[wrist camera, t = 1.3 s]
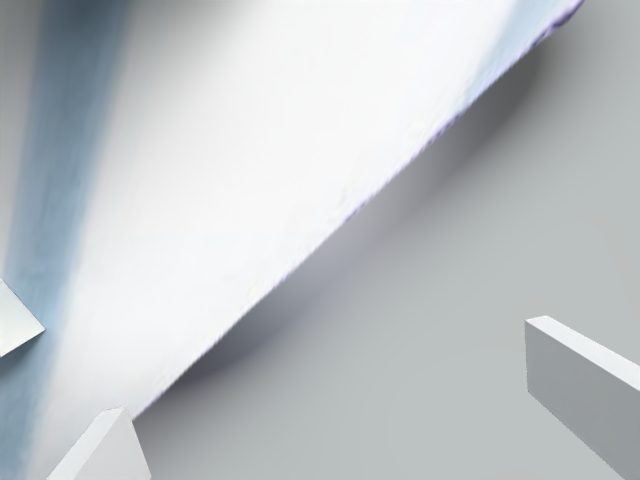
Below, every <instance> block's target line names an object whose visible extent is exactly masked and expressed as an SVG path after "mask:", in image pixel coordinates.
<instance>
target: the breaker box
mask: <svg viewBox="0 0 640 480" xmlns="http://www.w3.org/2000/svg"><path fill="white" fill-rule="evenodd" d="M44 330H45V329H44V327H43V326H42V325H41V324H40V323H39V322H38V320H37V319H36V318H35V317H34V316H33V315H32V314H31V312H30V311H29V310H28V309H27V308H26V307H25V306H24V304H23V303H22V302H21V301H20V300H19V299H18V297H17V296H16V295H15V294H14V293H13V292H12V291H11V289H10V288H9V287H8V286H7V285H6V284H5V282H4V281H3V280H2V279H1V278H0V357H2V356H3V355H5V354H7V353H8V352H10V351H11V350H13V349H15V348H16V347H18V346H20V345H21V344H23V343H24V342H26V341H28V340H29V339H31V338H33V337H34V336H36V335H38V334H39V333H41V332H42V331H44Z"/></svg>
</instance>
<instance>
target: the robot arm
mask: <svg viewBox="0 0 640 480" xmlns="http://www.w3.org/2000/svg"><path fill="white" fill-rule="evenodd" d="M525 341H526V362H527V383H528V392H529V393H530V394H531V395H532V396H534V397H535V398H536V399H537V400H538V401H539V402H540V403H541V404H542V405H543V406H544V407H546V408H547V409H548V410H549V411H550V412H551V413H552V414H553V415H554V416H555V417H556V418H558V419H559V420H560V421H561V422H562V423H563V424H564V425H566V427H567V428H569V429H570V430H571V431H572V432H573V433H574V434H575V435H576V436H577V437H579V438H580V439H581V440H582V441H583V442H584V443H585V444H586V445H587V446H588V447H590V448H591V449H592V450H593V451H594V452H595V453H596V454H597V455H598V456H599V457H600V458H602V459H603V460H604V461H605V462H606V463H607V464H608V465H609V466H610V467H611V468H613V469H614V470H615V471H616V472H617V473H618V474H619V475H620V476H622V478H624V479H625V480H640V366H638V365H636V364H634V363H633V362H631V361H629V360H627V359H625V358H623V357H622V356H620V355H618V354H616V353H614V352H613V351H611V350H609V349H607V348H605V347H603V346H602V345H600V344H598V343H596V342H594V341H592V340H590V339H589V338H587V337H585V336H583V335H581V334H579V333H578V332H576V331H574V330H572V329H570V328H568V327H567V326H565V325H563V324H561V323H559V322H557V321H556V320H554V319H552V318H550V317H548V316H541V317H537V318H532V319H527V320H525ZM150 479H151V474H150V471H149V468H148V466H147V463H146V460H145V457H144V455H143V452H142V449H141V447H140V443H139V441H138V438H137V435H136V432H135V429H134V427H133V424H132V421H131V418H130V416H129V413H128V410H127V407H126V406H124V407H119V408H115V409H110V410H105V411H101V412H100V413H99V415H98V416H97V417H96V418H95V420H94V421H93V422H92V423H91V425H90V426H89V427H88V428H87V429H86V431H85V432H84V433H83V434H82V436H81V437H80V438H79V439H78V441H77V442H76V443H75V444H74V445H73V447H72V448H71V449H70V450H69V452H68V453H67V454H66V455H65V457H64V458H63V459H62V460H61V461H60V463H59V464H58V465H57V466H56V468H55V469H54V470H53V471H52V473H51V474H50V475H49V476H48V477H47V479H46V480H150Z"/></svg>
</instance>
